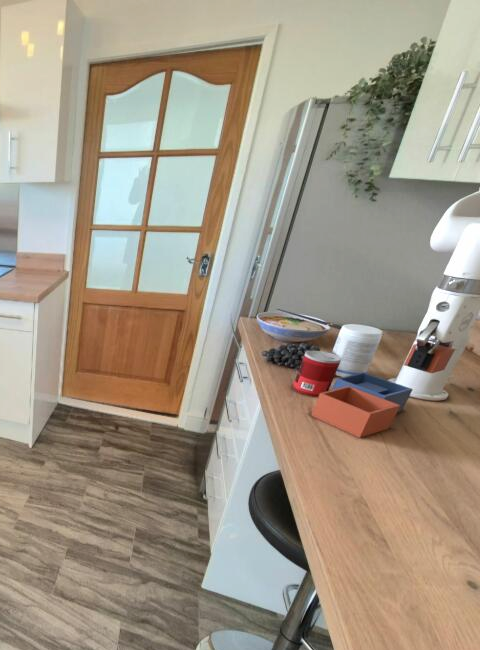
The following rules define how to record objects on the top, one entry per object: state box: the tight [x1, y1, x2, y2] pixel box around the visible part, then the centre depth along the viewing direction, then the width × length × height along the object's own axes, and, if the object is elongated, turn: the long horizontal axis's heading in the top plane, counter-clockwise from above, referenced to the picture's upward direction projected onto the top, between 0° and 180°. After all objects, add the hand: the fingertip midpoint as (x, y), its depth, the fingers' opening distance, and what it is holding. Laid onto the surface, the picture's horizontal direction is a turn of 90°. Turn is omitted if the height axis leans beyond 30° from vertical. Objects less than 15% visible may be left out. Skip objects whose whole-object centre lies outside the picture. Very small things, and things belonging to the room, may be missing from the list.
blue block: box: [357, 382, 389, 395], centre depth 114 cm, size 5×5×5 cm
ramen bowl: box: [256, 308, 343, 344], centre depth 159 cm, size 25×23×8 cm
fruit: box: [261, 342, 321, 371], centre depth 137 cm, size 9×8×15 cm
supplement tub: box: [331, 323, 384, 378], centre depth 130 cm, size 10×10×15 cm
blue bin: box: [331, 372, 413, 413], centre depth 114 cm, size 11×11×6 cm
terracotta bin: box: [310, 386, 400, 439], centre depth 106 cm, size 11×11×6 cm
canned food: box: [293, 350, 341, 398], centre depth 120 cm, size 8×8×11 cm
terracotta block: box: [403, 342, 455, 374], centre depth 95 cm, size 5×5×5 cm
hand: (424, 365), depth 96 cm, fingers closed on terracotta block, 5 cm apart
